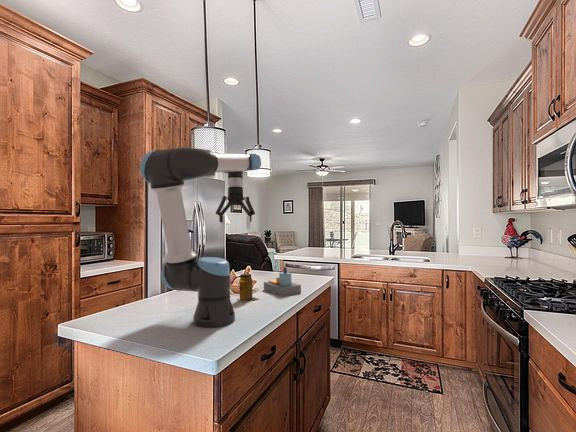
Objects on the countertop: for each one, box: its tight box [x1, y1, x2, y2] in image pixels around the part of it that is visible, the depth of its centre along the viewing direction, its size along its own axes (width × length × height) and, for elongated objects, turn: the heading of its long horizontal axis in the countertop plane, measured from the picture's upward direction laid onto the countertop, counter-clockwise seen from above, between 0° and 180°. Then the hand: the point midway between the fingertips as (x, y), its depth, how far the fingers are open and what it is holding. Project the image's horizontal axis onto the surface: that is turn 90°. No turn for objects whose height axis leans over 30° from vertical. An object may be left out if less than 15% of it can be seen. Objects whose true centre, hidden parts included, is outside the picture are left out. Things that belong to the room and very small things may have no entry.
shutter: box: [268, 276, 279, 284], centre depth 167 cm, size 8×8×3 cm
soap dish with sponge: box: [263, 281, 302, 297], centre depth 164 cm, size 18×12×4 cm, turn 32°
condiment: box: [236, 273, 259, 303], centre depth 148 cm, size 7×8×12 cm
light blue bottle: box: [278, 266, 292, 286], centre depth 161 cm, size 4×4×12 cm
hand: (235, 228), depth 158 cm, fingers open, 13 cm apart
